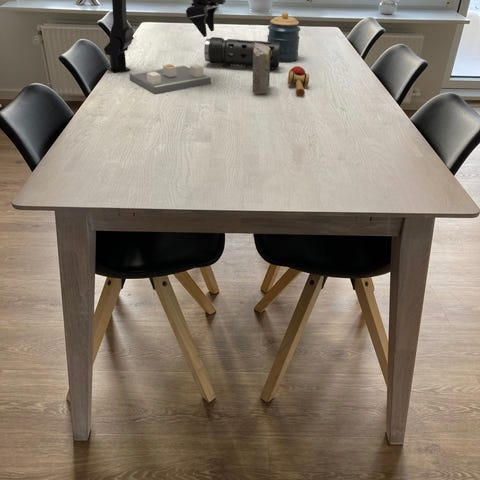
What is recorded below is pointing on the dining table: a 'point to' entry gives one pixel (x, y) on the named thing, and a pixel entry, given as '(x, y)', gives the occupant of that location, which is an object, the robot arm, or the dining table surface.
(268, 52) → the geological specimen
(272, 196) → the dining table surface
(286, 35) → the canister
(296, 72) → the kendama
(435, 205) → the dining table surface
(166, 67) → the switch
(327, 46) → the dining table surface
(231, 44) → the muzzle brake
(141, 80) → the switch panel
